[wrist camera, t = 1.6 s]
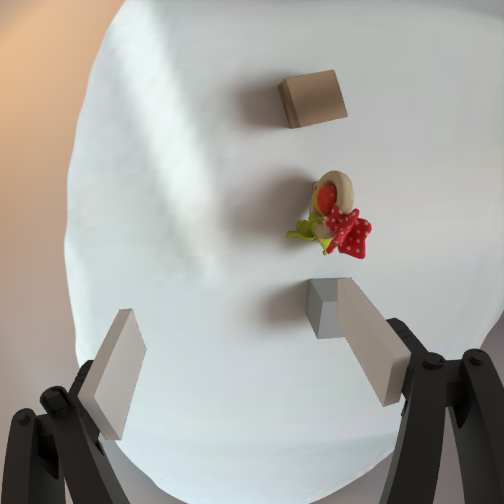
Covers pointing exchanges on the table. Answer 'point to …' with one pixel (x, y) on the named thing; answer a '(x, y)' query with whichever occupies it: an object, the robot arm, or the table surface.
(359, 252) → the bird rattle
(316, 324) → the grey block
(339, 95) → the walnut block
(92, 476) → the robot arm
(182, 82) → the table surface
